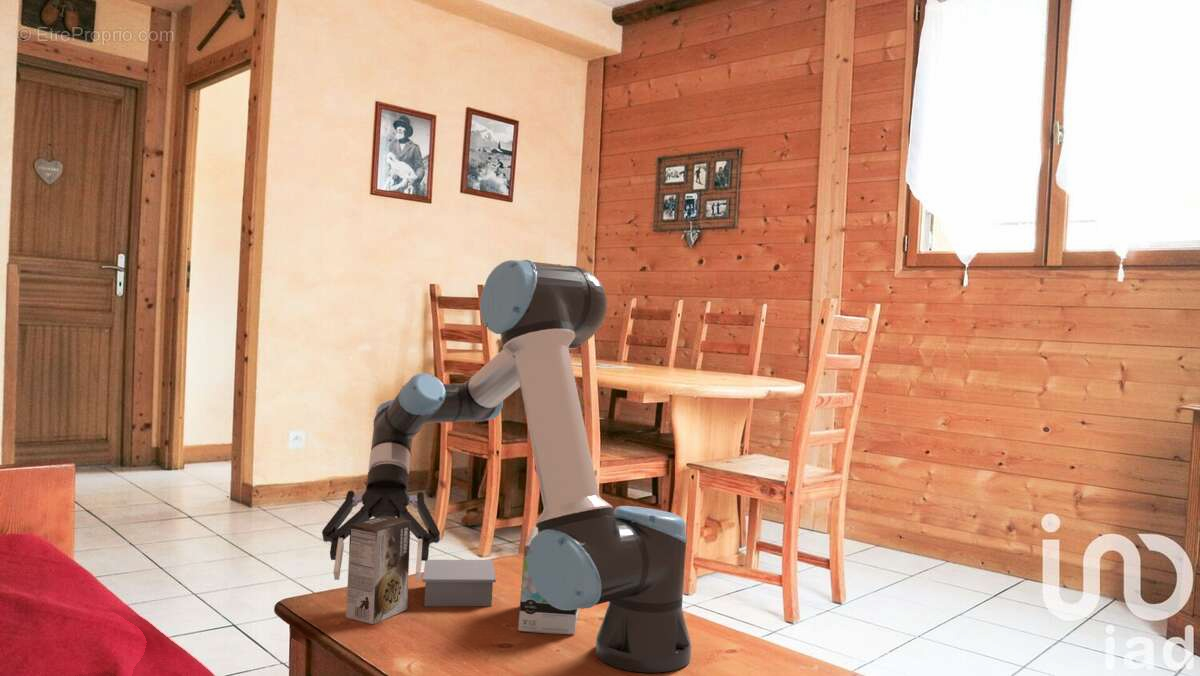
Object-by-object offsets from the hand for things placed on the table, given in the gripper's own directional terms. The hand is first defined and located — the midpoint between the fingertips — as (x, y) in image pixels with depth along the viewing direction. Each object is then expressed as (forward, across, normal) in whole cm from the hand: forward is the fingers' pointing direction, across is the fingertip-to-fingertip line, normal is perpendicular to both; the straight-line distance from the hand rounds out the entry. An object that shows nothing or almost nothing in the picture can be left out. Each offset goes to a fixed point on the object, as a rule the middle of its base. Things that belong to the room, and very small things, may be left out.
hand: (377, 576), depth 148 cm
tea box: (+6, -30, -5) cm, 31 cm away
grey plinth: (-4, -14, -14) cm, 20 cm away
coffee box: (+4, 0, -7) cm, 8 cm away
